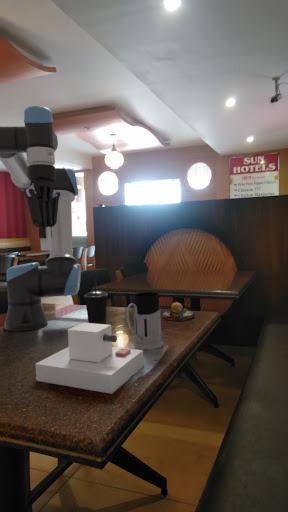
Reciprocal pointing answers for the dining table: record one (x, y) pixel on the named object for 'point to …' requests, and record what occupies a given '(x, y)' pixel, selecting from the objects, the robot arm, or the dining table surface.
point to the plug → (90, 342)
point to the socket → (91, 370)
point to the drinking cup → (96, 305)
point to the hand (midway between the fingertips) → (46, 250)
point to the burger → (178, 313)
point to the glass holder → (146, 320)
